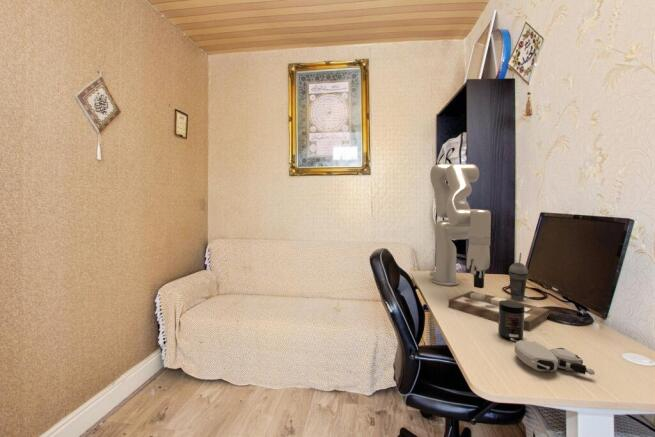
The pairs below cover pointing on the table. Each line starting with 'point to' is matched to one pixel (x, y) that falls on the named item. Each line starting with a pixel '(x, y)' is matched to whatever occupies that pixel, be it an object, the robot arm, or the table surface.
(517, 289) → the beverage cup
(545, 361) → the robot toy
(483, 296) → the button
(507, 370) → the table surface
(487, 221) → the robot arm
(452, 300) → the button board
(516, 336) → the supplement container
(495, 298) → the middle button
